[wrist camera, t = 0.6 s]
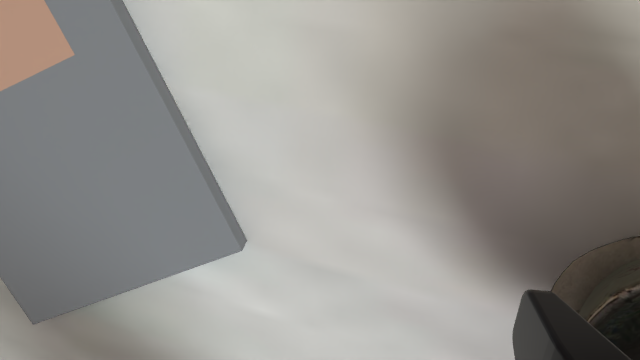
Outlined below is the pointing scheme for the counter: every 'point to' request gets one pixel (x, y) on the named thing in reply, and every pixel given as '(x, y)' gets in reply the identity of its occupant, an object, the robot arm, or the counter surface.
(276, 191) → the counter surface
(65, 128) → the slate board
